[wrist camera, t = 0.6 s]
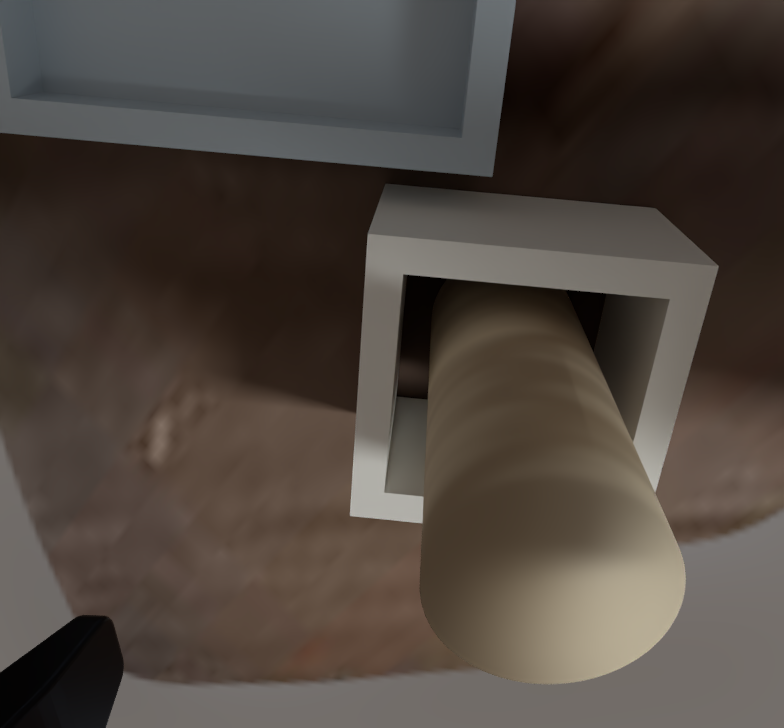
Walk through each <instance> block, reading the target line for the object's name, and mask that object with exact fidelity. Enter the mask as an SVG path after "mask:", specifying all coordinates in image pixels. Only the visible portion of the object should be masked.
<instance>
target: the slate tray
mask: <svg viewBox="0 0 784 728" xmlns="http://www.w3.org/2000/svg"><path fill="white" fill-rule="evenodd" d="M515 4H516V0H0V133H10V134H21V135H32V136H43V137H54V138H65V139H76V140H87V141H98V142H109V143H121V144H132V145H143V146H154V147H165V148H176V149H187V150H198V151H209V152H220V153H232V154H243V155H254V156H265V157H276V158H287V159H298V160H309V161H320V162H331V163H343V164H354V165H365V166H376V167H387V168H398V169H409V170H420V171H431V172H442V173H454V174H465V175H476V176H487V177H492V176H493V169H494V161H495V154H496V146H497V139H498V131H499V124H500V116H501V109H502V101H503V94H504V87H505V79H506V72H507V64H508V57H509V49H510V42H511V34H512V27H513V19H514V12H515Z"/></svg>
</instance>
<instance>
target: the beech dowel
mask: <svg viewBox="0 0 784 728" xmlns="http://www.w3.org/2000/svg"><path fill="white" fill-rule="evenodd" d="M685 583H686V574H685V566H684V561H683V558H682V554H681V551H680V549H679V546H678V544H677V542H676V540H675V537H674V535H673V533H672V530H671V528H670V526H669V524H668V521H667V519H666V517H665V514H664V512H663V510H662V508H661V505H660V503H659V501H658V499H657V496H656V494H655V492H654V489H653V487H652V485H651V483H650V480H649V478H648V476H647V474H646V471H645V469H644V467H643V464H642V462H641V460H640V458H639V455H638V453H637V451H636V448H635V446H634V444H633V442H632V439H631V437H630V435H629V433H628V430H627V428H626V426H625V423H624V421H623V419H622V417H621V414H620V412H619V410H618V407H617V405H616V403H615V401H614V398H613V396H612V394H611V392H610V389H609V387H608V385H607V382H606V380H605V378H604V376H603V373H602V371H601V369H600V367H599V364H598V362H597V360H596V357H595V355H594V353H593V351H592V348H591V346H590V344H589V341H588V339H587V337H586V335H585V332H584V330H583V328H582V326H581V323H580V321H579V319H578V316H577V314H576V312H575V310H574V307H573V305H572V303H571V300H570V298H569V296H568V294H567V292H566V290H565V289H555V288H544V287H533V286H523V285H512V284H501V283H491V282H480V281H469V280H459V279H447V280H446V281H445V282H444V284H443V285H442V287H441V288H440V290H439V292H438V294H437V296H436V298H435V301H434V304H433V309H432V319H431V341H430V364H429V386H428V409H427V431H426V454H425V476H424V499H423V521H422V544H421V566H420V597H421V603H422V607H423V610H424V613H425V616H426V618H427V620H428V622H429V624H430V626H431V628H432V629H433V631H434V632H435V634H436V635H437V636H438V638H439V639H440V640H441V641H442V642H443V643H444V644H445V645H446V646H447V648H448V649H450V650H451V651H452V652H453V653H455V654H456V655H457V656H458V657H459V658H461V659H463V660H464V661H466V662H467V663H469V664H470V665H472V666H474V667H476V668H478V669H480V670H482V671H485V672H487V673H490V674H492V675H495V676H498V677H501V678H506V679H509V680H513V681H519V682H525V683H534V684H563V683H572V682H579V681H583V680H588V679H592V678H596V677H599V676H602V675H605V674H608V673H611V672H613V671H615V670H617V669H620V668H622V667H624V666H626V665H628V664H629V663H631V662H633V661H635V660H636V659H638V658H639V657H641V656H642V655H643V654H645V653H646V652H647V651H649V650H650V649H651V648H652V647H653V646H654V645H655V644H656V643H657V642H658V641H659V640H661V638H662V637H663V636H664V635H665V633H666V632H667V631H668V630H669V628H670V627H671V625H672V623H673V622H674V620H675V618H676V617H677V615H678V612H679V610H680V607H681V605H682V602H683V597H684V593H685Z"/></svg>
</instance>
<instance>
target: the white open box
mask: <svg viewBox="0 0 784 728" xmlns="http://www.w3.org/2000/svg"><path fill="white" fill-rule="evenodd" d="M718 268H719V266H718V265H717V264H716V263H715V262H714V261H713V260H712V259H710V258H709V257H708V256H707V255H706V254H705V253H704V252H703V251H702V250H701V249H700V248H698V247H697V246H696V245H695V244H694V243H693V242H692V241H691V240H690V239H689V238H688V237H687V236H685V235H684V234H683V233H682V232H681V231H680V230H679V229H678V228H677V227H676V226H675V225H673V224H672V223H671V222H670V221H669V220H668V219H667V218H666V217H665V216H664V215H663V214H661V213H660V212H659V211H658V210H657V209H656V208H649V207H638V206H627V205H616V204H605V203H594V202H583V201H572V200H561V199H550V198H539V197H528V196H517V195H506V194H495V193H484V192H473V191H462V190H451V189H440V188H429V187H418V186H407V185H396V184H385V186H384V189H383V192H382V195H381V198H380V201H379V203H378V206H377V209H376V212H375V215H374V217H373V220H372V223H371V226H370V229H369V231H368V237H367V252H366V268H365V284H364V300H363V316H362V332H361V348H360V364H359V379H358V395H357V411H356V427H355V443H354V459H353V475H352V491H351V507H350V516H357V517H366V518H376V519H386V520H396V521H405V522H415V523H422V521H423V499H424V476H425V454H426V431H427V409H428V400H427V399H417V398H407V397H397V385H398V374H399V363H400V352H401V341H402V329H403V318H404V307H405V296H406V285H407V275H416V276H427V277H437V278H448V279H459V280H469V281H480V282H491V283H501V284H512V285H523V286H533V287H544V288H555V289H565V290H576V291H587V292H597V293H606V297H605V302H604V307H603V311H602V316H601V320H600V325H599V330H598V334H597V339H596V344H595V348H594V355H595V357H596V360H597V362H598V364H599V367H600V369H601V371H602V373H603V376H604V378H605V380H606V382H607V385H608V387H609V389H610V392H611V394H612V396H613V398H614V401H615V403H616V405H617V407H618V410H619V412H620V414H621V417H622V419H623V421H624V423H625V426H626V428H627V430H628V433H629V435H630V437H631V439H632V442H633V444H634V446H635V448H636V451H637V453H638V455H639V458H640V460H641V462H642V464H643V467H644V469H645V471H646V474H647V476H648V478H649V480H650V483H651V485H652V487H653V489H654V492H656V488H657V485H658V481H659V477H660V474H661V470H662V467H663V463H664V460H665V456H666V453H667V449H668V445H669V442H670V438H671V435H672V431H673V428H674V424H675V421H676V417H677V413H678V410H679V406H680V403H681V399H682V396H683V392H684V389H685V385H686V381H687V378H688V374H689V371H690V367H691V364H692V360H693V357H694V353H695V350H696V346H697V342H698V339H699V335H700V332H701V328H702V325H703V321H704V318H705V314H706V310H707V307H708V303H709V300H710V296H711V293H712V289H713V286H714V282H715V278H716V275H717V271H718Z"/></svg>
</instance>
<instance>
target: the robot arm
mask: <svg viewBox="0 0 784 728" xmlns="http://www.w3.org/2000/svg"><path fill="white" fill-rule="evenodd" d="M123 669H124V662H123V656H122V653H121V649H120V645H119V642H118V638H117V634H116V631H115V627H114V624H113V621H112V620H111V619H110V618H109V617H107V616H96V615H82V616H78V617H76V618H75V619H73V620H72V621H70V622H69V623H67V624H66V625H65V626H63V627H62V628H61V629H59V630H58V631H56V632H55V633H54V634H52V635H51V636H50V637H48V638H47V639H46V640H44V641H43V642H41V643H40V644H39V645H37V646H36V647H35V648H33V649H32V650H31V651H29V652H28V653H26V654H25V655H24V656H22V657H21V658H19V659H18V660H17V661H15V662H14V663H13V664H11V665H10V666H9V667H7V668H6V669H4V670H3V671H2V672H0V728H106V725H107V722H108V719H109V716H110V713H111V710H112V707H113V704H114V701H115V698H116V695H117V691H118V688H119V686H120V682H121V679H122V676H123Z"/></svg>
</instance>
